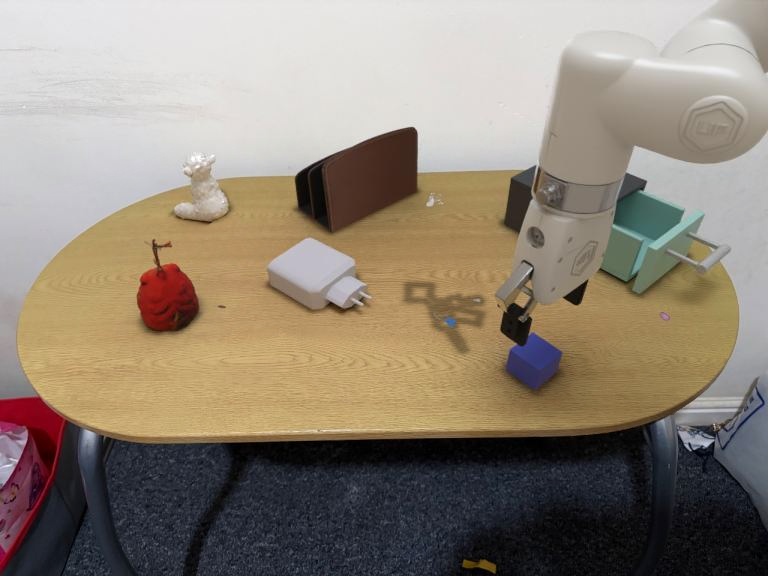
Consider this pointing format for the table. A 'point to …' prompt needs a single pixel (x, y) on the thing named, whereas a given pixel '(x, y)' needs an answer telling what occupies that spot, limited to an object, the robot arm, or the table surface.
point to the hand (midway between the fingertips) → (541, 317)
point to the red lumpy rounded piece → (166, 295)
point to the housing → (523, 196)
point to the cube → (534, 361)
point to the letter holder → (359, 179)
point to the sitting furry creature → (202, 191)
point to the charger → (317, 276)
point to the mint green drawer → (654, 240)
